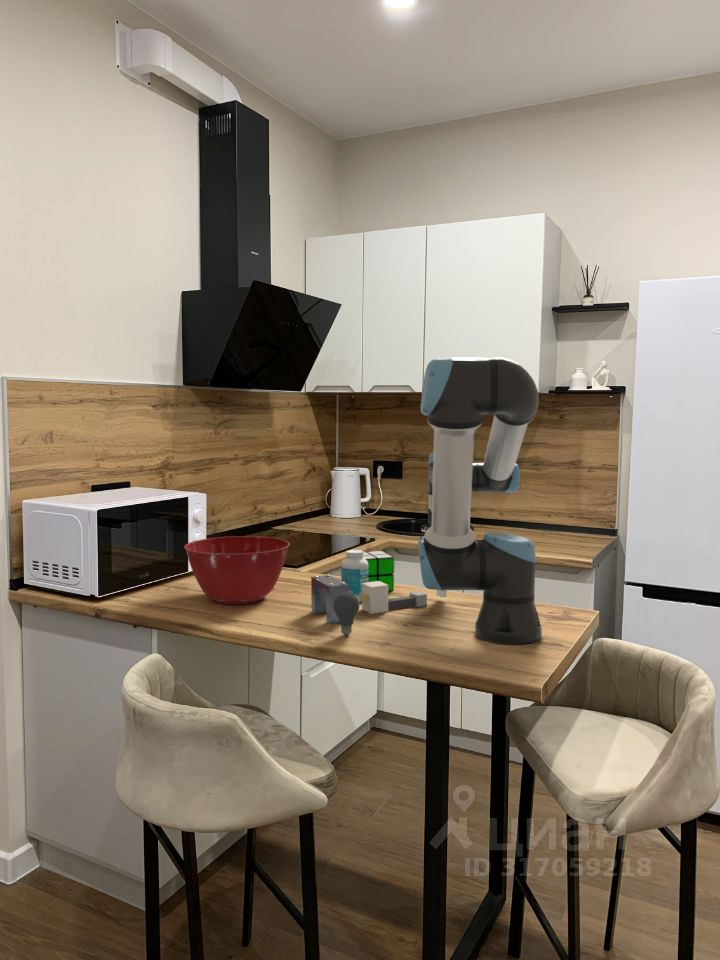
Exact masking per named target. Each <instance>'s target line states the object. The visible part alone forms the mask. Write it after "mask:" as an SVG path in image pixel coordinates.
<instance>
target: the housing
mask: <svg viewBox="0 0 720 960" xmlns="http://www.w3.org/2000/svg"><path fill="white" fill-rule="evenodd" d="M310 580H311V582H310V583H311V584H310V585H311V592H310V594H311V597H310V598H311V599H310V600H311V601H310V602H311V613H312V614H313V615H321V614H326V623H328V624H329V625H333V624H340V623H339V619H338V616H337V615H336V613H335V612H334V609H333V604H334V600H335V598H336V597H337V596H338V595H340V594H342V593H348V584H346V583H345V582H342V581H341V580H340V579H337V578H336V577H334V576H332V575H331V574H329V573H327V574H325V575H314V576H311V579H310Z"/></svg>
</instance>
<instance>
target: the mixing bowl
mask: <svg viewBox="0 0 720 960" xmlns="http://www.w3.org/2000/svg"><path fill="white" fill-rule="evenodd" d="M290 544H291V543H290V542H289V541H288V540H285V539H282V538H277V537H271V536H258V535H257V536H255V535H252V536H251V535H249V536H248V535H243V536H242V535H239V536H238V535H236V536H235V535H234V536H233V535H231V536H220V537H219V536H218V537H211V538H204V539H199V540H198V539H197V540H195V541H194V540H193V541H190V542H189V543H186V544H185V545H184V546H183V547H184V549H185V551H186V555H187V557H188V558H187V559H188V562H189V565H190V567H191V570H192V573H193V575H194V577H195V580H196V582H197V584H198V585H199V587H200V589H201V591H202V592H203V593H204V594H205V595H206V596H207V597H208V598H209V599H212V600H213V601H214V602H216V603H217V604H222V605H223V604H224V605H245V604H252V603H256V602H259V601H262V599H264V597H266V596H268V595H269V594H270V593H271V591H272V590H274V588H275V585H277V584H276V583H277V582H278V580H279V578H280V575H281V573H282V570H283V567H284V564H285V560H286V557H287V553H288V549H289V547H290ZM272 592H273V591H272Z"/></svg>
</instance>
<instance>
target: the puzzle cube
mask: <svg viewBox="0 0 720 960" xmlns="http://www.w3.org/2000/svg"><path fill="white" fill-rule="evenodd" d="M362 558H363V559H365V560H367V562H368V582H375V581H380V582H383V583H385V584H387V585H388V592H393V591H394V590H395V589H394V588H395V581H394V578H395V577H394V576H395V575H394V572H395V567H394V565H395V563H394V562H395V561H394V559H395V558H394V557H393V556H391V555H390V554H388V553H386V552H384V551H383V550H378V551H377V550H376V551H367V552H366V551H363V557H362Z"/></svg>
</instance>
